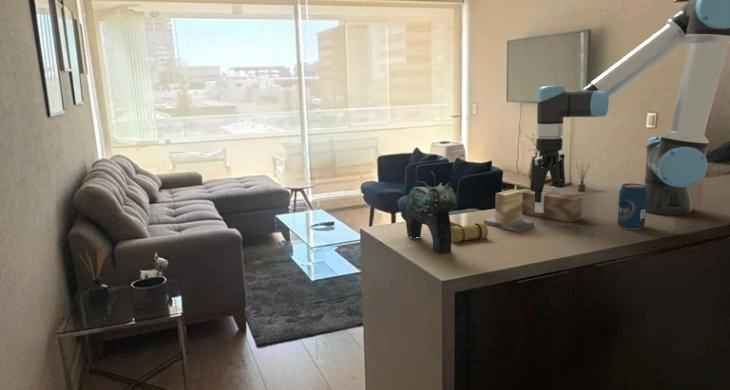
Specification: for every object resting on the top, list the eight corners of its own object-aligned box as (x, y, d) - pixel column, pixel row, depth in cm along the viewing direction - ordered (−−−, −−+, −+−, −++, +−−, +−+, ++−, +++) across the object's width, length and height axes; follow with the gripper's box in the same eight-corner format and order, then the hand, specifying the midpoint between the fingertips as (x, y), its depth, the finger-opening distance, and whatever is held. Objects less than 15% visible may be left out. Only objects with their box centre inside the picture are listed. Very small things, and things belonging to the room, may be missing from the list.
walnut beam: (581, 219, 154) (582, 197, 153) (572, 223, 151) (573, 200, 150) (524, 209, 170) (524, 188, 168) (515, 212, 166) (515, 191, 165)
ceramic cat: (458, 253, 128) (458, 175, 124) (436, 257, 126) (435, 177, 122) (419, 233, 146) (418, 165, 142) (399, 237, 144) (397, 167, 140)
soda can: (611, 226, 145) (614, 185, 143) (627, 222, 149) (630, 182, 146) (634, 231, 139) (637, 188, 137) (650, 227, 143) (653, 185, 140)
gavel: (422, 215, 155) (451, 212, 158) (423, 230, 155) (452, 226, 158) (455, 228, 135) (488, 223, 138) (455, 245, 135) (488, 240, 138)
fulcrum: (534, 226, 149) (535, 192, 147) (517, 231, 144) (518, 197, 142) (500, 218, 158) (500, 187, 156) (483, 223, 153) (483, 191, 151)
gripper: (557, 133, 164) (555, 202, 169) (518, 139, 152) (516, 213, 157) (579, 134, 158) (576, 205, 163) (540, 141, 146) (538, 218, 151)
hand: (547, 209), depth 160 cm, fingers open, 8 cm apart
